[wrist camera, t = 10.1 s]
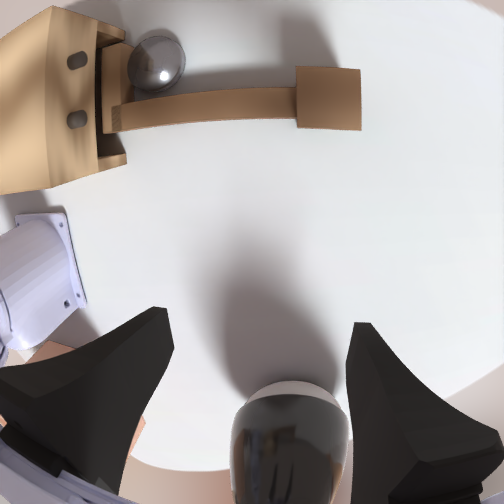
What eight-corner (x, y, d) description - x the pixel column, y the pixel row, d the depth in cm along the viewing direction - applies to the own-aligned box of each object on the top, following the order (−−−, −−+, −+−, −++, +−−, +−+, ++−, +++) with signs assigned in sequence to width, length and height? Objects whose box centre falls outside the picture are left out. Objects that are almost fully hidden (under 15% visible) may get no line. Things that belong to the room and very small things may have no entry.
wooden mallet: (346, 130, 17) (361, 130, 13) (117, 140, 20) (74, 147, 15) (342, 28, 14) (354, -2, 10) (115, 52, 17) (73, 41, 12)
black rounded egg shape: (369, 382, 24) (384, 536, 11) (312, 436, 29) (301, 558, 15) (268, 345, 24) (231, 521, 10) (227, 408, 29) (187, 536, 15)
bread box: (135, 163, 20) (60, 187, 13) (47, 174, 22) (-22, 198, 14) (134, 28, 16) (62, -1, 9) (43, 62, 17) (-26, 59, 10)
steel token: (187, 87, 18) (180, 85, 17) (135, 96, 18) (127, 95, 17) (186, 35, 16) (180, 30, 15) (135, 46, 17) (127, 43, 16)
